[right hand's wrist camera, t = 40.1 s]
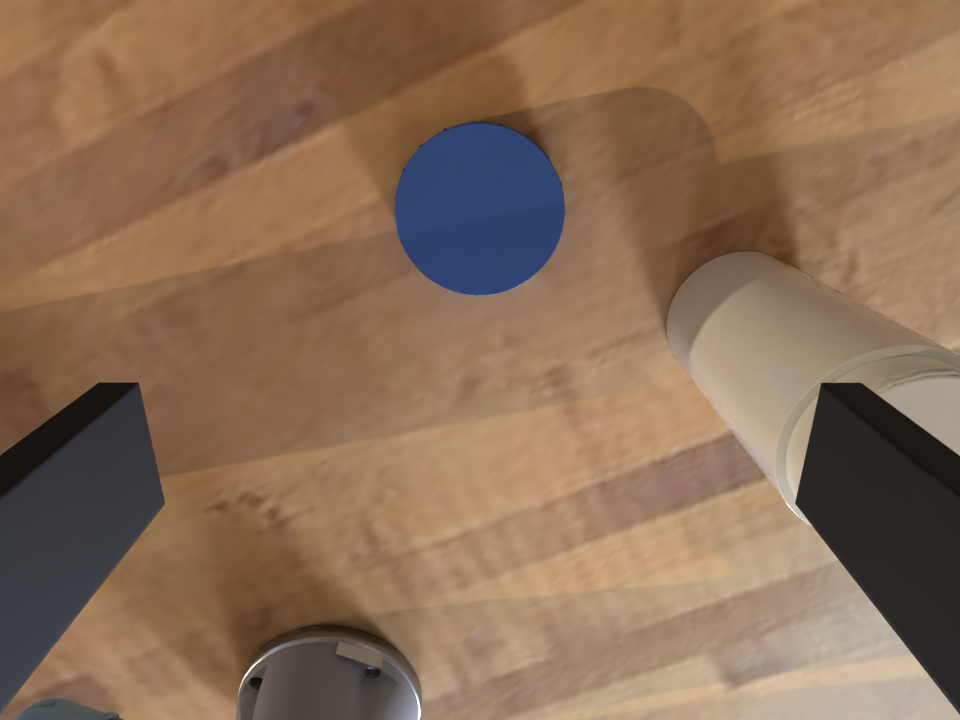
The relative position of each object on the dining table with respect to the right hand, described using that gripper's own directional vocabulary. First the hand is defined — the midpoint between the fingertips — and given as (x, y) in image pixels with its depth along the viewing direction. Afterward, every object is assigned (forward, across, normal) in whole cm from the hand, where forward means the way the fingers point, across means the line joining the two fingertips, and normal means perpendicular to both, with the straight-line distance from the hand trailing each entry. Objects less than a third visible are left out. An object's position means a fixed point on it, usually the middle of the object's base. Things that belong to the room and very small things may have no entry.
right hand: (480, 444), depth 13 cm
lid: (+28, 0, 0) cm, 28 cm away
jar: (+30, +17, -7) cm, 35 cm away
